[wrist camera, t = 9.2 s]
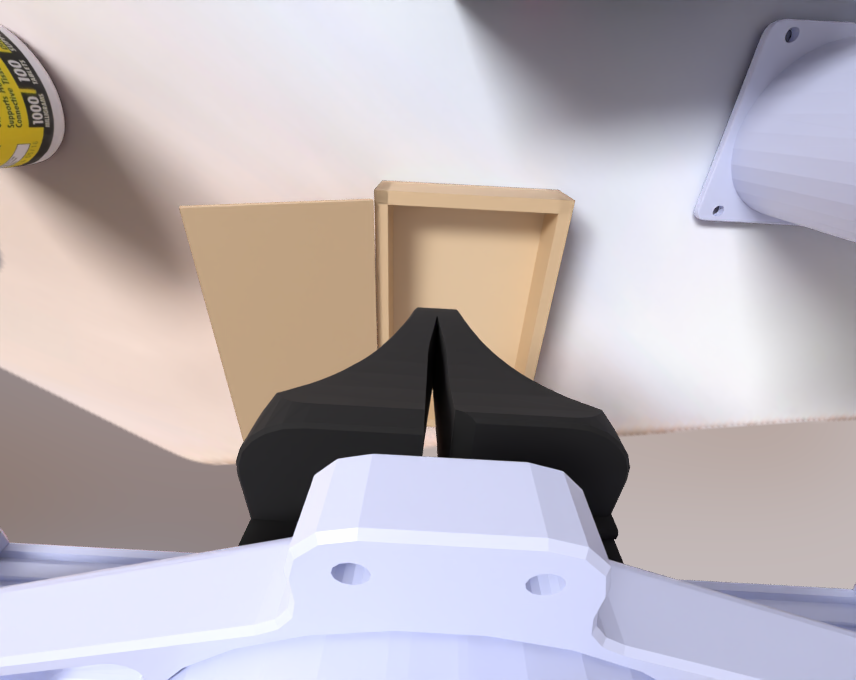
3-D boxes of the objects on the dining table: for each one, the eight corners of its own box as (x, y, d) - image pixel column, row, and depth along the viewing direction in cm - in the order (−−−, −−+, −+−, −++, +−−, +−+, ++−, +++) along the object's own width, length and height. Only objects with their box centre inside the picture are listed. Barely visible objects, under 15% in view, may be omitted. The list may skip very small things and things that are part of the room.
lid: (179, 208, 14) (180, 205, 15) (248, 457, 21) (247, 451, 21) (373, 200, 17) (369, 198, 17) (379, 422, 24) (376, 417, 24)
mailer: (558, 190, 20) (575, 200, 17) (514, 402, 27) (521, 431, 24) (382, 180, 20) (374, 189, 17) (385, 395, 27) (379, 423, 24)
